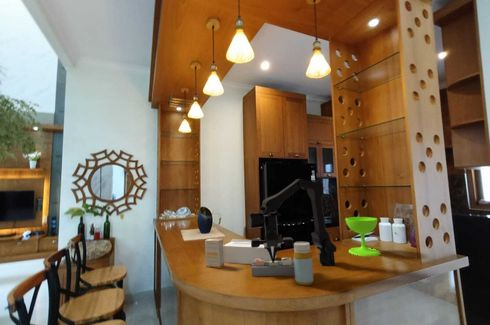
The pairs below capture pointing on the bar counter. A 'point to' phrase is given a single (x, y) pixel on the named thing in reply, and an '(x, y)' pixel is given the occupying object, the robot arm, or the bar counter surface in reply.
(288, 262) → the key cream
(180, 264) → the bar counter surface
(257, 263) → the key terracotta
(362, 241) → the wineglass
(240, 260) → the tissue box
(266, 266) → the keypad
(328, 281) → the bar counter surface
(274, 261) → the key sage
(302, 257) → the bottle
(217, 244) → the supplement box
